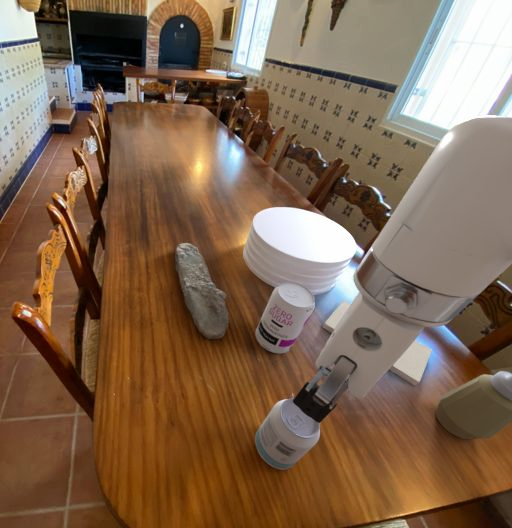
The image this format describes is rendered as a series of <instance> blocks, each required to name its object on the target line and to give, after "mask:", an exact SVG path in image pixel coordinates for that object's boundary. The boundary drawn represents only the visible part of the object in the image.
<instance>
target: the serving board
mask: <svg viewBox="0 0 512 528" xmlns="http://www.w3.org/2000/svg"><path fill="white" fill-rule="evenodd" d="M350 305H351V303H350V302H349V301H346V300H345V299H343V300H342V301H341V302H340V303H339V305H338V306H337V307H336V308H335V310H334V311H333V312H332V313H331V314H330V316H329V317H328V318H327V319H326V320H325V321H324V322H323V324H322V328H323V329H325V330H326V331H328V332H329V333H331V334H332V333H333V331H334V329H335V328H336V326H337V324H338V323H339V321H340V320H341V318H342V316H343V315H344V313H345V312H346V311H347V309H348V308H349V306H350ZM432 352H433V349H432V348H430V347H428V346H427V345H425V344H422V343H421V342H419V341H417V339H415V340H414V342H413V343H412V344H411V345H410V347H409V348H408V349H407V350H406V351H405V352H404V354H403V355H402V356H401V357H400V358H399V359H398V360H397V361H396V363H395V364H394V365H393V366H392V367H391V368H390V369H389V370H388V371H391V372H392V373H393V374H395V375H397V376H398V377H400V378H402V379H403V380H405V381H406V382H408V383H410V384H411V385H413V386H414V387H416V386H417V385H418V384H420V382H421V380H422V377H423V375H424V372H425V370H426V367H427V364H428V362H429V360H430V357H431V354H432Z"/></svg>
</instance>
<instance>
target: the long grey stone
mask: <svg viewBox="0 0 512 528" xmlns="http://www.w3.org/2000/svg"><path fill="white" fill-rule="evenodd" d="M174 261H175V263H174V264H175V267H174V269H175V271H176V273H177V274H178V279H179V286H180V287H181V288H180V289H181V291H182V294H183V298H184V300H183V301H184V304H185V307H186V308H187V310H188V312H189V313H190V315H191V318H192V321H193V324H194V325H195V327H196V329H197V330H198V332H199V333H200V335H202V336H203V337H204V338H205V339H208V340H219V339H222V338H223V337H224V336H225V334H226V331H227V328H228V326H229V323H230V313H229V312H228V310H227V305H226V302H225V300H226V299H227V297H228V296H227V294H226V293H225V291H222V290H221V289H218V288H217V285H216V283H213V280H212V278H211V274H210V270H209V269H208V266H207V263H206V261H205V259H204V257H203V255H201V253H200V252H199V249H198V246H195V245H193V244H192V243H188V242H183V243H180V244H178V245H177V246H176V248H175V251H174Z"/></svg>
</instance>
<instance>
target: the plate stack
mask: <svg viewBox="0 0 512 528" xmlns="http://www.w3.org/2000/svg"><path fill="white" fill-rule="evenodd" d="M247 234H248V235H247V238H246V241H245V243H244V247H243V251H242V259H243V262H244V263H245V265H246V266H247V268H248V269H249V271H250V272H251V273H252V274H253V275H254V276H256V277H257V278H258V279H259V280H261V281H263V282H264V283H265V284H267V285H269V286H271V287H273V288H274V289H275V288H276V287H278V286H280V284H282V283H285V282H293V283H297V284H300V285H302V286H304V287H306V288H307V289H308V290H309V291H311V292H312V294H313V296H315V295H316V296H317V295H322V294H326V293H327V292H329V291H331V290H332V289H334V288H335V286H336V285H337V283H338V281H339V280H340V278H341V277H342V275H343V273H344V272H345V270H346V268H348V265H349V264H350V262H351V260H352V259H353V257H354V256H355V254H356V252H357V243H356V241H355V239H354V237H353V236H352V235H351V233H350V232H349V231H348V230H347V229H345V227H343V226H341V224H339V223H337V222H336V221H334V220H331V219H330V218H328V217H326V216H323V215H321V214H318V213H316V212H313V211H310V210H306V209H301V208H297V207H287V206H276V207H269V208H268V207H267V208H265V209H262V210H260V211H259V212H257V213H256V214H255V215H254V216H253V218H252V222H251V225H250V227H249V232H248V233H247Z"/></svg>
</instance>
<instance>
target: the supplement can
mask: <svg viewBox="0 0 512 528" xmlns="http://www.w3.org/2000/svg"><path fill="white" fill-rule="evenodd" d="M315 305H316V304H315V295H313V294H312V292H311V291H309V290H308V289H307V288H306V287H304V286H302V285H300V284H297V283H293V282H285V283H282V284H280V286H278V287H276V288H275V287H274V289H273V290H272V293H271V295H270V297H269V299H268V301H267V304H266V306H265V309H264V310H263V313H262V316H261V317H260V320H259V322H258V325H257V327H256V329H255V333H254V335H255V338H256V341H257V342H258V343H259V345H260V346H261V347H263V349H265V350H267V351H268V352H271V353H273V354H286V353H287V352H289V351H291V349H292V347H293V346H294V344H295V342H297V341H296V340H297V339H298V337H299V335H300V334H301V332H302V331H303V329H304V328H305V325H306V324H307V322H308V321H309V318H310V317H311V315H312V314H313V312H314V310H315V308H316V306H315Z"/></svg>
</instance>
